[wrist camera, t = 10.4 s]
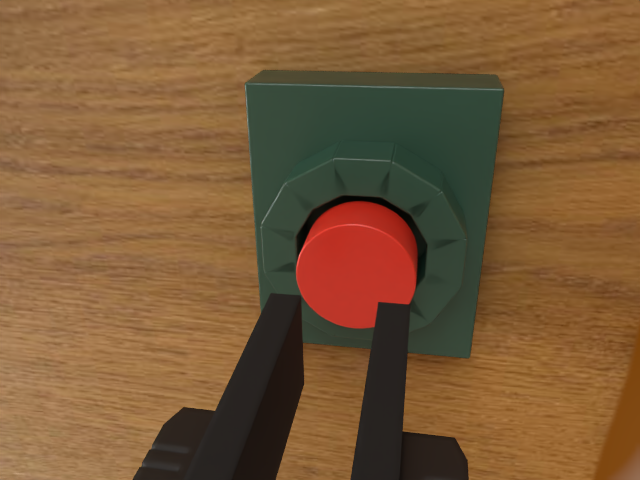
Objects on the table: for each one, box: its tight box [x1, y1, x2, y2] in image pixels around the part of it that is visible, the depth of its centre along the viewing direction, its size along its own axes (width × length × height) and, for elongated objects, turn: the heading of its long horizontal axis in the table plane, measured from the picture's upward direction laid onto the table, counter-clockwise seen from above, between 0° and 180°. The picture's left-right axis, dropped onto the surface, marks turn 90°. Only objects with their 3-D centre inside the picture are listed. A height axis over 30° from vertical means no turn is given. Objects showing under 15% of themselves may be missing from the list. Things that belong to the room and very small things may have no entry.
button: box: [296, 201, 418, 329], centre depth 18 cm, size 4×4×2 cm
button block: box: [245, 70, 504, 358], centre depth 20 cm, size 10×8×4 cm
